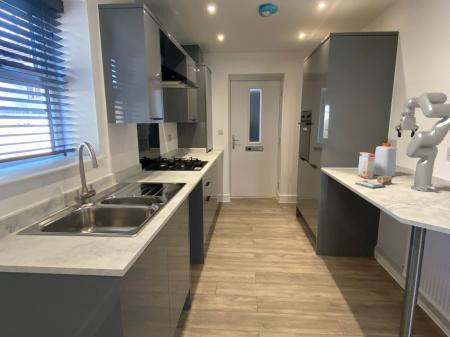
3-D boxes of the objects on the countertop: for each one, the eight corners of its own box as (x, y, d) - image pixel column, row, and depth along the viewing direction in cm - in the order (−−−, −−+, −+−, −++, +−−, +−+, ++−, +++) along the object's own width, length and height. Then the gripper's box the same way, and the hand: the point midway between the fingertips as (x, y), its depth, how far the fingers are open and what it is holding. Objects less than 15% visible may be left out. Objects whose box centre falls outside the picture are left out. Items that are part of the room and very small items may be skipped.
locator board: (385, 187, 186) (386, 183, 186) (371, 188, 182) (372, 185, 182) (368, 182, 200) (368, 179, 200) (355, 184, 196) (355, 180, 196)
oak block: (391, 184, 195) (392, 176, 194) (382, 185, 192) (383, 177, 191) (385, 183, 199) (386, 175, 198) (376, 184, 196) (377, 176, 195)
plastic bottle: (383, 177, 219) (387, 144, 214) (369, 174, 234) (372, 143, 229) (397, 176, 223) (401, 144, 218) (382, 173, 238) (386, 142, 232)
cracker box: (372, 179, 212) (375, 154, 208) (365, 179, 212) (368, 154, 208) (364, 175, 226) (366, 152, 222) (357, 175, 226) (359, 152, 222)
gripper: (399, 115, 197) (396, 137, 200) (423, 115, 196) (420, 137, 199) (394, 115, 205) (391, 137, 208) (417, 115, 203) (414, 137, 206)
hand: (405, 137), depth 203 cm, fingers open, 9 cm apart
